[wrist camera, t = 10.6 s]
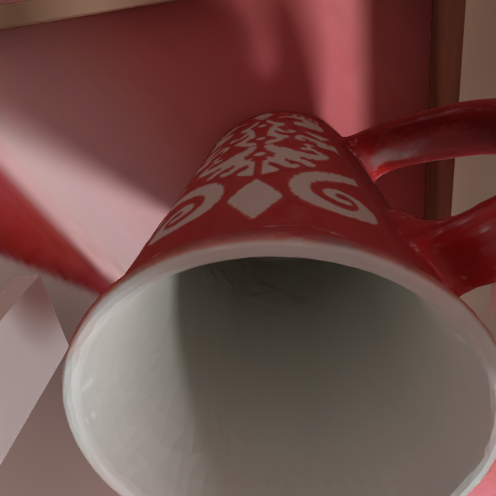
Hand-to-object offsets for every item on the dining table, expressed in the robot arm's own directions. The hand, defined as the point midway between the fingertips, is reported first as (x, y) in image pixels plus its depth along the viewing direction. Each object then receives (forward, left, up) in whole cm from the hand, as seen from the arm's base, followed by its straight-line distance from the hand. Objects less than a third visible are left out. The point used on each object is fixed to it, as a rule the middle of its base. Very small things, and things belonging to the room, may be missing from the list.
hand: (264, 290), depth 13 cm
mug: (+2, 0, -9) cm, 9 cm away
